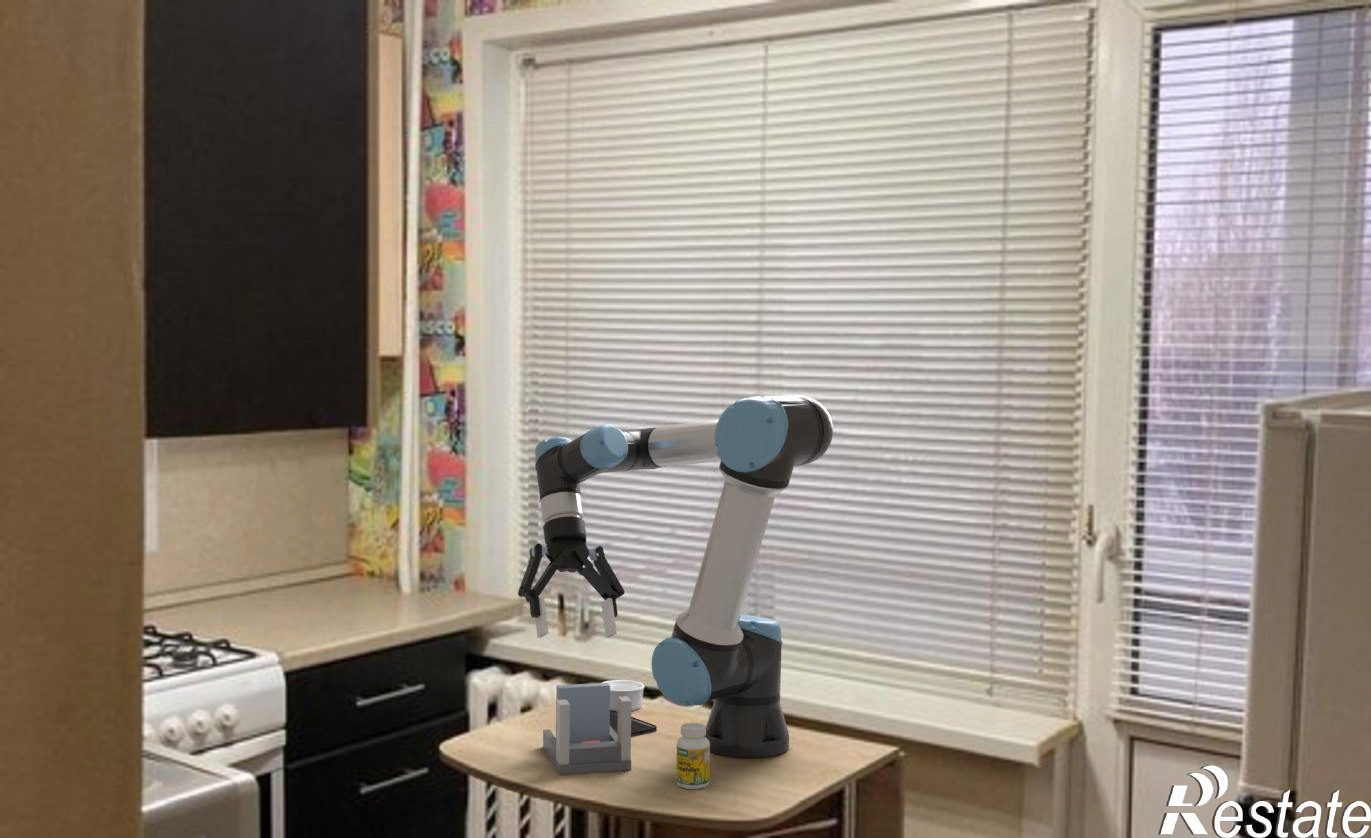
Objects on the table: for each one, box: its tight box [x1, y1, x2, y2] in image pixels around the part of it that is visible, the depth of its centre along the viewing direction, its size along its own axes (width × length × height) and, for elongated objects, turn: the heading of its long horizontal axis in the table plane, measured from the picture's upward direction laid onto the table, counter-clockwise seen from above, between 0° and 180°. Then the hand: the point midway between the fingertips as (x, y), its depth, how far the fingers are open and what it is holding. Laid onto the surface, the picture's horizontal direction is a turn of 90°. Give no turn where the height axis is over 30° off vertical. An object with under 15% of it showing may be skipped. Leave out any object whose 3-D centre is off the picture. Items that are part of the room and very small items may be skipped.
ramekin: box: [601, 679, 645, 712], centre depth 267 cm, size 9×9×4 cm
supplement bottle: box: [675, 722, 711, 790], centre depth 220 cm, size 5×5×10 cm
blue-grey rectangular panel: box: [555, 682, 610, 744], centre depth 236 cm, size 2×9×10 cm, turn 106°
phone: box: [610, 710, 658, 738], centre depth 254 cm, size 8×1×15 cm
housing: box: [542, 696, 632, 776], centre depth 233 cm, size 16×12×12 cm
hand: (577, 635), depth 240 cm, fingers open, 13 cm apart
